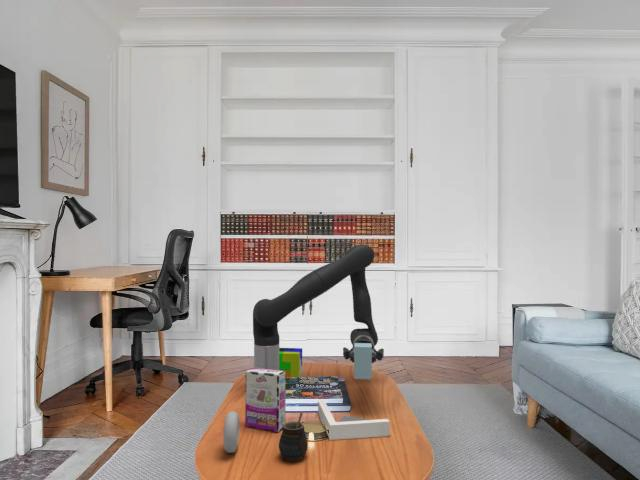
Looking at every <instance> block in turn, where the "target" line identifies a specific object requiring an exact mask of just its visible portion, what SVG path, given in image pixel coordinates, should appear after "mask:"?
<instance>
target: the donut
mask: <svg viewBox="0 0 640 480" xmlns="http://www.w3.org/2000/svg"><path fill="white" fill-rule="evenodd" d="M239 438H240V416H239V413H237V412H236V411H233V410H231V411H229V412H227V414H226V416H225V418H224V425H223V441H222V443H223V450H224V451H225V452H227V454H232V453H235V451H237V449H238V445H239V440H240V439H239Z"/></svg>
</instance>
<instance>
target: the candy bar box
mask: <svg viewBox="0 0 640 480" xmlns="http://www.w3.org/2000/svg"><path fill="white" fill-rule="evenodd" d="M244 403H245V413H244V415H245V422H244V423H245V427H246V428H250V429H255V430H261V431H263V430H264V431H269V432H275V433H279V432H280V431H283V427H282V426H283V424H285V423H286V378H285V371H279V370H271V369H261V368H254V367H252V368H250V369H248V370H246V371H245V402H244Z"/></svg>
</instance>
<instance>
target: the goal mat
mask: <svg viewBox="0 0 640 480" xmlns="http://www.w3.org/2000/svg"><path fill="white" fill-rule="evenodd" d="M362 420H371V419H369V418H363V417H362V418H361V417H355V416H347V415H343V416H342V417H341V418H340V420H339V421H338V422H346V421H362Z"/></svg>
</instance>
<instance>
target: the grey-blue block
mask: <svg viewBox="0 0 640 480" xmlns="http://www.w3.org/2000/svg"><path fill="white" fill-rule="evenodd" d="M372 365H373V363H372V343H355V344H354V362H353V379H356V380H372V379H373V378H372V375H373V373H372V372H373V371H372V370H373V369H372V368H373V367H372Z"/></svg>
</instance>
